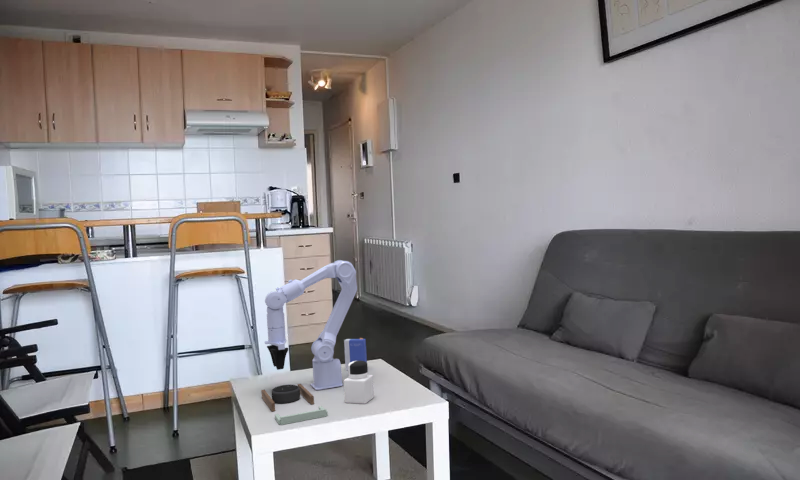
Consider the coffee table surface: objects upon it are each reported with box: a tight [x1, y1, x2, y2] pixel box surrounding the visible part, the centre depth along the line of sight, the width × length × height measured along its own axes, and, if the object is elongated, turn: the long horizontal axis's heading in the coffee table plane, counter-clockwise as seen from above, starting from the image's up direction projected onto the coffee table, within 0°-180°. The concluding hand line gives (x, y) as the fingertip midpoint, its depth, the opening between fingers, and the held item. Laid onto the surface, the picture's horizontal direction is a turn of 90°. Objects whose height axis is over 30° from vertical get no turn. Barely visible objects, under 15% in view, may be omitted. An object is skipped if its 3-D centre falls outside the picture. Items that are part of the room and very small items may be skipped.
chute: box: [260, 383, 315, 412], centre depth 179 cm, size 13×17×2 cm
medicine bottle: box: [343, 361, 375, 404], centre depth 176 cm, size 7×7×12 cm
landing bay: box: [274, 405, 329, 426], centre depth 162 cm, size 14×6×2 cm, turn 114°
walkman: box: [343, 337, 368, 372], centre depth 214 cm, size 8×3×12 cm, turn 77°
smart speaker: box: [271, 384, 301, 404], centre depth 180 cm, size 9×9×4 cm
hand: (278, 367), depth 189 cm, fingers open, 5 cm apart
